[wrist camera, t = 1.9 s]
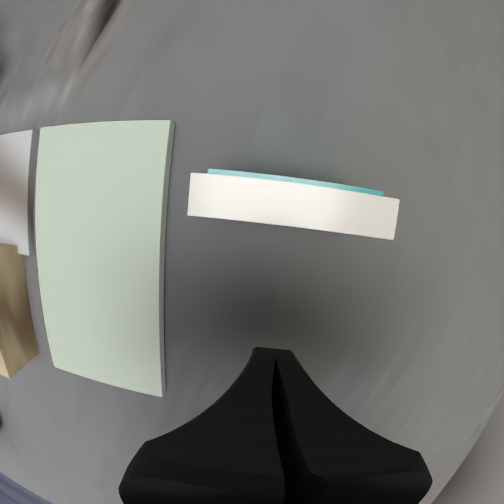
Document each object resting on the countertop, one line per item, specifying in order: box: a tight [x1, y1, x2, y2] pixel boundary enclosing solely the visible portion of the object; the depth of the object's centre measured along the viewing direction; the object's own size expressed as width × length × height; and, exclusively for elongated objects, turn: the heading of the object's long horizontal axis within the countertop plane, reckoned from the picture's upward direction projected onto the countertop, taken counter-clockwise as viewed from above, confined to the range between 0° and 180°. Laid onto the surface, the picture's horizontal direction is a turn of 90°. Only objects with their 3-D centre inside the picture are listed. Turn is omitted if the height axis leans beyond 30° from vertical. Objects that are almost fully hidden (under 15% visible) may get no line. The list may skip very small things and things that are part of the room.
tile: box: [187, 169, 400, 240], centre depth 11 cm, size 1×6×6 cm, turn 84°
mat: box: [35, 120, 175, 397], centre depth 15 cm, size 15×8×1 cm, turn 174°
